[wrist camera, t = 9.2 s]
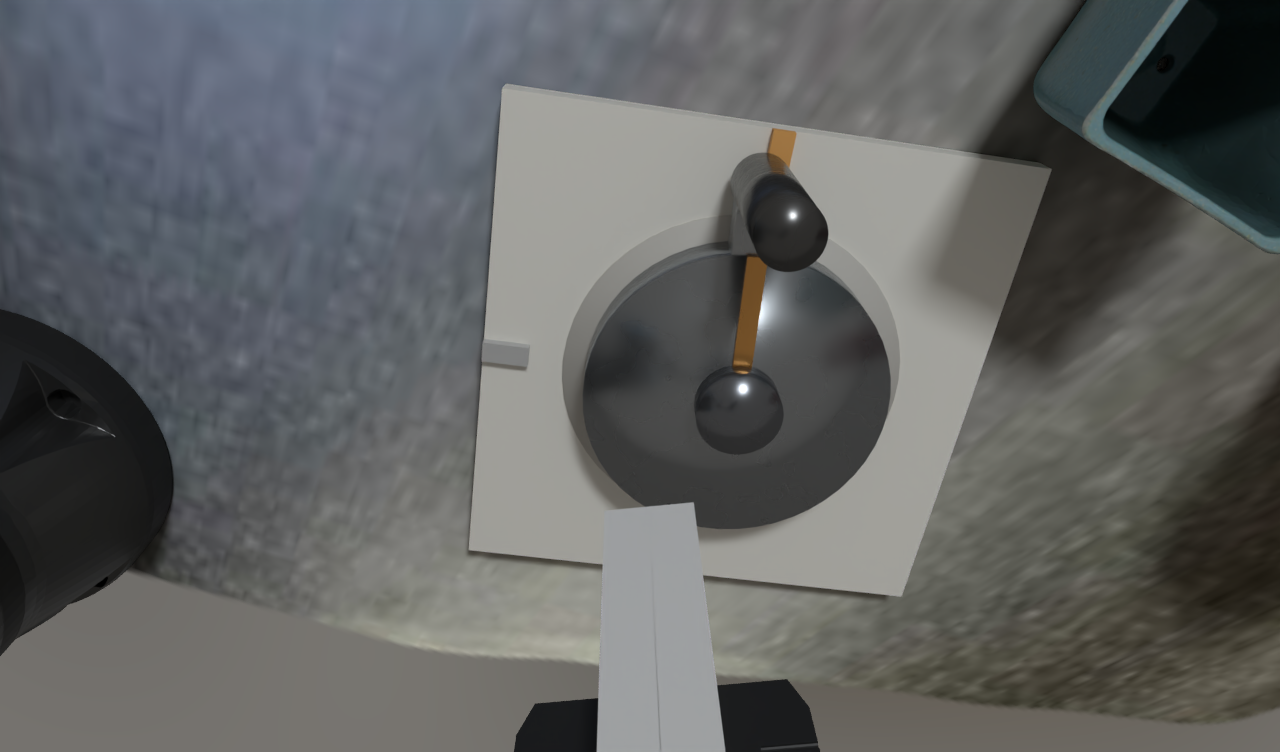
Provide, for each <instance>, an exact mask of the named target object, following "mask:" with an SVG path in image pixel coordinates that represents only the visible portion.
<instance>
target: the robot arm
mask: <svg viewBox="0 0 1280 752" xmlns="http://www.w3.org/2000/svg"><path fill="white" fill-rule="evenodd" d="M171 494H172V470H171V464H170V459H169V454H168V450H167V447H166V444H165V441H164V439H163V436H162V434H161V432H160V429H159V427H158V425H157V423H156V421H155V420H154V418H153V416H152V415H151V413H150V411H149V410H148V408H147V407H146V405H145V404H144V402H143V401H142V399H141V398H140V397H139V396H138V394H137V393H136V392H135V391H134V389H133V388H132V387H131V386H130V385H129V384H128V383H127V382H126V380H125V379H124V378H123V377H122V376H121V375H120V374H119V373H118V372H117V371H116V370H114V369H113V368H112V367H111V366H110V365H109V364H108V363H106V362H105V361H104V360H103V359H101V358H100V357H99V356H98V355H96V354H95V353H94V352H92V351H91V350H89V349H88V348H87V347H85V346H84V345H82V344H81V343H79V342H77V341H76V340H74V339H73V338H71V337H69V336H67V335H65V334H64V333H62V332H60V331H58V330H56V329H54V328H52V327H50V326H48V325H45V324H43V323H41V322H38V321H36V320H33V319H31V318H28V317H25V316H22V315H19V314H16V313H12V312H9V311H5V310H0V656H1V655H2V653H4V651H5V650H6V649H7V648H8V647H9V646H10V645H11V643H12V642H13V641H14V640H15V639H17V638H18V637H20V636H22V635H24V634H25V633H27V632H29V631H30V630H32V629H34V628H35V627H37V626H39V625H41V624H42V623H44V622H45V621H47V620H49V619H50V618H52V617H53V616H55V615H56V614H57V613H59V612H60V611H61V610H63V609H64V608H65V607H66V606H67V605H68V604H70V603H74V602H77V601H79V600H82V599H84V598H87V597H89V596H91V595H92V594H95V593H96V592H98V591H100V590H101V589H103V588H105V587H106V586H108V585H109V584H111V583H112V582H113V581H115V580H116V579H117V578H118V577H120V575H122V574H123V573H124V572H125V571H126V570H127V569H128V568H129V567H130V566H131V565H132V564H133V563H134V562H135V561H136V559H137V558H138V557H139V556H140V554H141V553H142V552H143V551H144V549H145V548H146V547H147V546H148V544H149V543H150V542H151V541H152V539H153V538H154V537H155V535H156V534H157V533H158V531H159V529H160V528H161V526H162V524H163V522H164V520H165V518H166V515H167V512H168V509H169V505H170V501H171ZM514 752H820V749H819V748H818V741H817V737H816V733H815V729H814V725H813V721H812V716H811V712H810V708H809V706H808V705H807V704H806V703H805V701H804V700H803V699H802V698H801V696H800V695H799V694H798V693H797V691H796V690H795V689H794V687H793V686H792V685H791V684H790V682H789V681H788V680H787V679H785V680H774V681H762V682H752V683H740V684H729V685H717V681H716V674H715V666H714V658H713V650H712V642H711V634H710V626H709V619H708V611H707V603H706V595H705V587H704V579H703V572H702V564H701V556H700V548H699V540H698V532H697V524H696V517H695V509H694V502H691V503H681V504H670V505H660V506H649V507H638V508H628V509H617V510H607V511H604V540H603V571H602V602H601V634H600V665H599V698H595V699H585V700H572V701H561V702H550V703H538V704H535V705H534V707H533V708H532V710H531V711H530V713H529V715H528V717H527V718H526V720H525V722H524V723H523V725H522V727H521V728H520V730H519V732H518V733H517V735H516V742H515V749H514Z"/></svg>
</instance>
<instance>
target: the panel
mask: <svg viewBox="0 0 1280 752" xmlns="http://www.w3.org/2000/svg"><path fill="white" fill-rule="evenodd" d="M755 153H770V154H774V155H776V156H778V157H779V158H781V159H782V160H783V161H784V162H785V163H786V165H787V166H788V167H789V169H790V170H791V171H792V173H793V174H794V176H795V177H796V178H797V180H798V181H799V182H800V184H801V185H802V187H803V188H804V189H805V191H806V192H807V193H808V195H809V196H810V198H811V199H812V200H813V202H814V203H815V204H816V206H817V207H818V208H819V210H820V211H821V213H822V214H823V216H824V217H825V219H826V222H827V225H828V241H827V245H826V247H825V249H824V251H823V253H822V254H821V256H820V257H819V258H818V259H817V260H816V261H817V262H819V263H821V264H822V265H824V266H826V267H827V268H828V269H829V270H831V271H832V272H833V273H834V274H835V275H837V276H838V277H839V278H840V279H841V280H842V281H843V282H844V283H845V284H846V285H847V286H848V287H849V288H850V289H851V290H852V292H853V293H854V294H855V296H856V297H857V299H858V300H859V302H860V303H861V305H862V306H863V308H864V309H865V311H866V312H867V314H868V315H869V317H870V318H871V320H872V321H873V323H874V324H875V326H876V328H877V330H878V333H879V335H880V337H881V339H882V341H883V344H884V347H885V350H886V354H887V357H888V361H889V368H890V375H891V395H890V402H889V408H888V414H887V417H886V420H885V424H884V427H883V430H882V432H881V434H880V436H879V439H878V441H877V443H876V445H875V447H874V449H873V450H872V452H871V453H870V455H869V457H868V458H867V460H866V461H865V463H864V464H863V465H862V466H861V467H860V469H859V470H858V471H857V472H856V474H855V475H854V476H853V477H852V478H851V479H850V480H849V481H848V482H847V483H846V484H845V485H844V486H842V487H841V488H840V489H839V490H838V491H836V492H835V493H834V494H833V495H831V496H830V497H829V498H827V499H826V500H824V501H823V502H821V503H819V504H818V505H816V506H814V507H813V508H811V509H809V510H807V511H805V512H803V513H800V514H798V515H796V516H794V517H791V518H788V519H785V520H782V521H779V522H776V523H772V524H768V525H763V526H759V527H752V528H743V529H714V528H705V527H698V526H697V532H698V540H699V548H700V556H701V564H702V572H703V575H705V576H715V577H724V578H733V579H743V580H752V581H761V582H771V583H780V584H789V585H799V586H808V587H817V588H827V589H836V590H845V591H854V592H864V593H873V594H882V595H892V596H902V594H903V591H904V588H905V585H906V582H907V579H908V576H909V574H910V571H911V568H912V565H913V562H914V559H915V557H916V554H917V551H918V548H919V545H920V542H921V540H922V537H923V534H924V531H925V528H926V525H927V523H928V520H929V517H930V514H931V511H932V508H933V505H934V503H935V500H936V497H937V494H938V491H939V488H940V486H941V483H942V480H943V477H944V474H945V471H946V469H947V466H948V463H949V460H950V457H951V454H952V452H953V449H954V446H955V443H956V440H957V437H958V435H959V432H960V429H961V426H962V423H963V420H964V417H965V415H966V412H967V409H968V406H969V403H970V400H971V398H972V395H973V392H974V389H975V386H976V383H977V381H978V378H979V375H980V372H981V369H982V366H983V364H984V361H985V358H986V355H987V352H988V349H989V347H990V344H991V341H992V338H993V335H994V332H995V329H996V327H997V324H998V321H999V318H1000V315H1001V312H1002V310H1003V307H1004V304H1005V301H1006V298H1007V295H1008V293H1009V290H1010V287H1011V284H1012V281H1013V278H1014V276H1015V273H1016V270H1017V267H1018V264H1019V261H1020V259H1021V256H1022V253H1023V250H1024V247H1025V244H1026V241H1027V239H1028V236H1029V233H1030V230H1031V227H1032V224H1033V222H1034V219H1035V216H1036V213H1037V210H1038V207H1039V205H1040V202H1041V199H1042V196H1043V193H1044V190H1045V188H1046V185H1047V182H1048V179H1049V176H1050V173H1051V171H1052V169H1050V168H1049V167H1047V166H1045V165H1043V164H1041V163H1039V162H1032V161H1025V160H1018V159H1012V158H1005V157H998V156H991V155H985V154H978V153H971V152H964V151H958V150H951V149H944V148H937V147H931V146H924V145H917V144H910V143H904V142H897V141H890V140H883V139H877V138H870V137H863V136H856V135H850V134H843V133H836V132H829V131H823V130H816V129H809V128H802V127H796V126H789V125H782V124H775V123H769V122H762V121H755V120H748V119H742V118H735V117H728V116H721V115H715V114H708V113H701V112H694V111H688V110H681V109H674V108H667V107H661V106H654V105H647V104H640V103H634V102H627V101H620V100H613V99H607V98H600V97H593V96H586V95H580V94H573V93H566V92H559V91H553V90H546V89H539V88H532V87H526V86H519V85H512V84H505V85H504V87H503V88H502V98H501V112H500V126H499V140H498V153H497V167H496V181H495V195H494V208H493V222H492V236H491V250H490V263H489V277H488V291H487V305H486V318H485V332H484V340H483V345H482V359H481V361H482V373H481V387H480V401H479V415H478V428H477V442H476V456H475V470H474V483H473V497H472V511H471V525H470V539H469V550H473V551H482V552H491V553H501V554H510V555H519V556H528V557H538V558H547V559H556V560H566V561H575V562H584V563H594V564H603V540H604V511H607V510H617V509H628V508H638V507H645V506H643V505H642V504H640V503H639V502H637V501H635V500H634V499H633V498H632V497H630V496H629V495H628V494H627V493H626V492H624V491H623V490H622V489H621V488H620V487H619V486H618V485H617V484H616V483H615V482H614V480H613V479H612V478H611V477H610V476H609V475H608V473H607V472H606V470H605V469H604V468H603V466H602V465H601V463H600V462H599V460H598V458H597V456H596V454H595V452H594V450H593V448H592V446H591V443H590V440H589V437H588V434H587V431H586V426H585V420H584V415H583V385H584V375H585V367H586V359H587V353H588V350H589V346H590V343H591V339H592V336H593V334H594V332H595V330H596V327H597V325H598V323H599V321H600V319H601V317H602V316H603V314H604V313H605V311H606V309H607V308H608V306H609V305H610V304H611V302H612V301H613V300H614V299H615V297H616V296H617V295H618V294H619V293H620V291H621V290H622V289H623V288H624V287H625V286H627V285H628V284H629V283H630V282H631V281H632V280H633V279H634V278H635V277H636V276H638V275H639V274H641V273H642V272H643V271H645V270H646V269H648V268H649V267H650V266H652V265H653V264H655V263H657V262H659V261H661V260H663V259H665V258H666V257H668V256H670V255H673V254H675V253H678V252H681V251H683V250H686V249H688V248H692V247H696V246H700V245H704V244H708V243H715V242H723V241H728V238H729V230H730V222H731V214H732V206H733V199H734V198H733V196H732V193H731V187H730V183H731V177H732V174H733V171H734V169H735V168H736V166H737V165H738V164H739V163H740V162H741V161H742V160H743V159H744V158H746V157H748V156H749V155H752V154H755Z"/></svg>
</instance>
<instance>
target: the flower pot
mask: <svg viewBox="0 0 1280 752" xmlns="http://www.w3.org/2000/svg"><path fill="white" fill-rule="evenodd" d="M1163 57H1166V58H1168V60H1169V64H1168V66H1167V68H1166V69H1164V70H1162V71H1159V70H1157V62H1158V61H1159V60H1160V59H1161V58H1163ZM1033 91H1034V97H1035V99H1036V101H1037V103H1038V104H1039V106H1040V107H1041V108H1042V109H1043V110H1044V111H1045V112H1046V113H1048V114H1049V115H1050V116H1052V117H1053V118H1054V119H1056V120H1057V121H1059V122H1060V123H1062V124H1063V125H1065V126H1066V127H1068V128H1069V129H1071V130H1072V131H1074V132H1075V133H1077V134H1078V135H1079V136H1081V137H1082V138H1084V139H1085V140H1087V141H1088V142H1090V143H1091V144H1093V145H1094V146H1096V147H1097V148H1099V149H1100V150H1102V151H1105V152H1107V153H1108V154H1110V155H1112V156H1113V157H1115V158H1117V159H1118V160H1120V161H1122V162H1123V163H1125V164H1127V165H1128V166H1130V167H1132V168H1133V169H1135V170H1137V171H1138V172H1140V173H1142V174H1144V175H1145V176H1147V177H1149V178H1150V179H1152V180H1154V181H1155V182H1157V183H1159V184H1160V185H1162V186H1163V187H1165V188H1167V189H1168V190H1170V191H1172V192H1173V193H1175V194H1176V195H1178V196H1179V197H1181V198H1183V199H1184V200H1186V201H1187V202H1189V203H1191V204H1192V205H1193V206H1195V207H1197V208H1198V209H1200V210H1201V211H1203V212H1204V213H1206V214H1208V215H1209V216H1211V217H1212V218H1214V219H1215V220H1217V221H1218V222H1220V223H1221V224H1223V225H1224V226H1226V227H1228V228H1229V229H1231V230H1232V231H1234V232H1235V233H1237V234H1238V235H1240V236H1241V237H1243V238H1244V239H1246V240H1247V241H1249V242H1250V243H1252V244H1253V245H1255V246H1256V247H1257V248H1259V249H1261V250H1262V251H1265V252H1267V253H1270V254H1280V0H1087V1H1086V3H1085V4H1084V6H1083V7H1082V9H1081V10H1080V11H1079V13H1078V14H1077V16H1076V17H1075V19H1074V20H1073V21H1072V23H1071V24H1070V26H1069V27H1068V29H1067V30H1066V31H1065V33H1064V34H1063V36H1062V37H1061V39H1060V40H1059V41H1058V43H1057V44H1056V46H1055V47H1054V48H1053V50H1052V51H1051V53H1050V54H1049V56H1048V57H1047V58H1046V60H1045V61H1044V63H1043V64H1042V66H1041V68H1040V69H1039V71H1038V72H1037V75H1036V77H1035V80H1034V87H1033Z"/></svg>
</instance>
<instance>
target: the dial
mask: <svg viewBox="0 0 1280 752" xmlns="http://www.w3.org/2000/svg"><path fill="white" fill-rule="evenodd" d="M730 187H731V193H732V196H733V198H734V199H733V206H732V214H731V222H730V230H729V238H728V241H723V242H715V243H708V244H704V245H700V246H696V247H692V248H688V249H686V250H683V251H681V252H678V253H675V254H673V255H670V256H668V257H666V258H665V259H663V260H661V261H659V262H657V263H655V264H653V265H652V266H650V267H649V268H648V269H646V270H645V271H643V272H642V273H641V274H639V275H638V276H636V277H635V278H634V279H633V280H632V281H631V282H630V283H629V284H628V285H627V286H625V287H624V288H623V289H622V290H621V291H620V293H619V294H618V295H617V296H616V297H615V299H614V300H613V301H612V302H611V304H610V305H609V306H608V308H607V309H606V311H605V313H604V314H603V316H602V317H601V319H600V321H599V323H598V325H597V327H596V330H595V332H594V334H593V336H592V339H591V343H590V346H589V350H588V353H587V359H586V367H585V375H584V385H583V415H584V420H585V426H586V431H587V434H588V437H589V440H590V443H591V446H592V448H593V450H594V452H595V454H596V456H597V458H598V460H599V462H600V463H601V465H602V466H603V468H604V469H605V470H606V472H607V473H608V475H609V476H610V477H611V478H612V479H613V480H614V482H615V483H616V484H617V485H618V486H619V487H620V488H621V489H622V490H623V491H624V492H626V493H627V494H628V495H629V496H630V497H632V498H633V499H634V500H635V501H637V502H639V503H640V504H642V505H643V506H645V507H649V506H660V505H670V504H681V503H691V502H694V509H695V517H696V524H697V526H698V527H705V528H714V529H743V528H752V527H759V526H763V525H768V524H772V523H776V522H779V521H782V520H785V519H788V518H791V517H794V516H796V515H798V514H800V513H803V512H805V511H807V510H809V509H811V508H813V507H814V506H816V505H818V504H819V503H821V502H823V501H824V500H826V499H827V498H829V497H830V496H831V495H833V494H834V493H835V492H836V491H838V490H839V489H840V488H841V487H842V486H844V485H845V484H846V483H847V482H848V481H849V480H850V479H851V478H852V477H853V476H854V475H855V474H856V472H857V471H858V470H859V469H860V467H861V466H862V465H863V464H864V463H865V461H866V460H867V458H868V457H869V455H870V453H871V452H872V450H873V449H874V447H875V445H876V443H877V441H878V439H879V436H880V434H881V432H882V430H883V427H884V424H885V420H886V417H887V414H888V408H889V402H890V395H891V375H890V368H889V361H888V357H887V354H886V350H885V347H884V344H883V341H882V339H881V337H880V335H879V333H878V330H877V328H876V326H875V324H874V323H873V321H872V320H871V318H870V317H869V315H868V314H867V312H866V311H865V309H864V308H863V306H862V305H861V303H860V302H859V300H858V299H857V297H856V296H855V294H854V293H853V292H852V290H851V289H850V288H849V287H848V286H847V285H846V284H845V283H844V282H843V281H842V280H841V279H840V278H839V277H838V276H837V275H835V274H834V273H833V272H832V271H831V270H829V269H828V268H827V267H826V266H824V265H822V264H821V263H819V262H817V261H816V260H817V259H818V258H819V257H820V256H821V254H822V253H823V251H824V249H825V247H826V245H827V241H828V225H827V222H826V219H825V217H824V216H823V214H822V213H821V211H820V210H819V208H818V207H817V206H816V204H815V203H814V202H813V200H812V199H811V198H810V196H809V195H808V193H807V192H806V191H805V189H804V188H803V187H802V185H801V184H800V182H799V181H798V180H797V178H796V177H795V176H794V174H793V173H792V171H791V170H790V169H789V167H788V166H787V165H786V163H785V162H784V161H783V160H782V159H781V158H779V157H778V156H776V155H774V154H770V153H755V154H752V155H749V156H748V157H746V158H744V159H743V160H742V161H741V162H740V163H739V164H738V165H737V166H736V168H735V169H734V171H733V174H732V177H731V183H730Z"/></svg>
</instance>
